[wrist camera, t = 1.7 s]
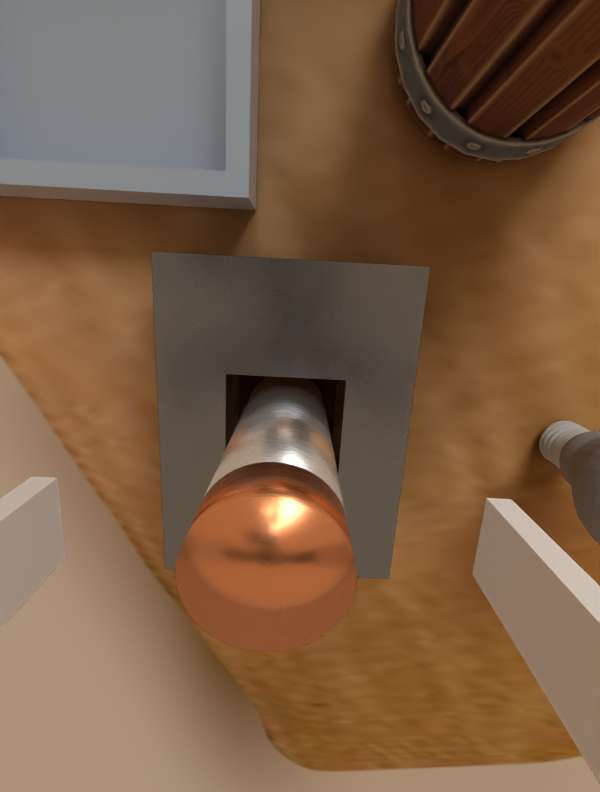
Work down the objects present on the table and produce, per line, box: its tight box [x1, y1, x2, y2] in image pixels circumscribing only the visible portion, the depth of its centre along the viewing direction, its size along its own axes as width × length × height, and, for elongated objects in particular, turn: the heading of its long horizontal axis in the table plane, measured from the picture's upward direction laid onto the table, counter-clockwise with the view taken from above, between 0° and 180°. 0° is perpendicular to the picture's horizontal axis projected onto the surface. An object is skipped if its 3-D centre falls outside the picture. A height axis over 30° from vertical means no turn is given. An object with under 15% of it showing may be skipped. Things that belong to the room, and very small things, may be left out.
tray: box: [0, 0, 261, 210], centre depth 17 cm, size 14×14×3 cm
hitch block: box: [151, 251, 430, 579], centre depth 21 cm, size 16×12×4 cm
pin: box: [175, 376, 357, 652], centre depth 16 cm, size 4×4×14 cm
